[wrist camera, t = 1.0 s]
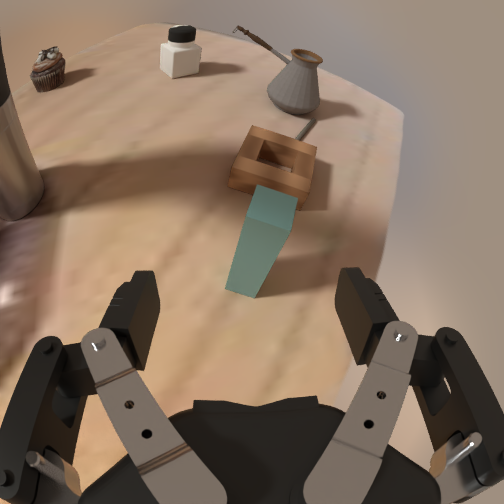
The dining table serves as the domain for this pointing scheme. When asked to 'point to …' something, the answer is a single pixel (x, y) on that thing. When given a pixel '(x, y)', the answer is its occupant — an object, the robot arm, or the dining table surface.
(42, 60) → the cupcake
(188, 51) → the medicine bottle
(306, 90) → the coffee pot
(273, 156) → the brown square slotted piece
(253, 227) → the peg
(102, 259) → the dining table surface
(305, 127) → the dark grey rod
